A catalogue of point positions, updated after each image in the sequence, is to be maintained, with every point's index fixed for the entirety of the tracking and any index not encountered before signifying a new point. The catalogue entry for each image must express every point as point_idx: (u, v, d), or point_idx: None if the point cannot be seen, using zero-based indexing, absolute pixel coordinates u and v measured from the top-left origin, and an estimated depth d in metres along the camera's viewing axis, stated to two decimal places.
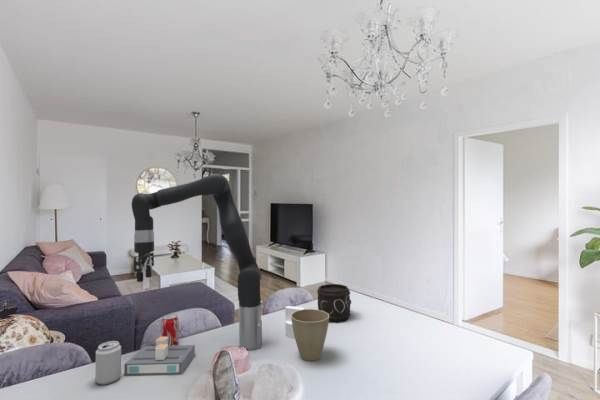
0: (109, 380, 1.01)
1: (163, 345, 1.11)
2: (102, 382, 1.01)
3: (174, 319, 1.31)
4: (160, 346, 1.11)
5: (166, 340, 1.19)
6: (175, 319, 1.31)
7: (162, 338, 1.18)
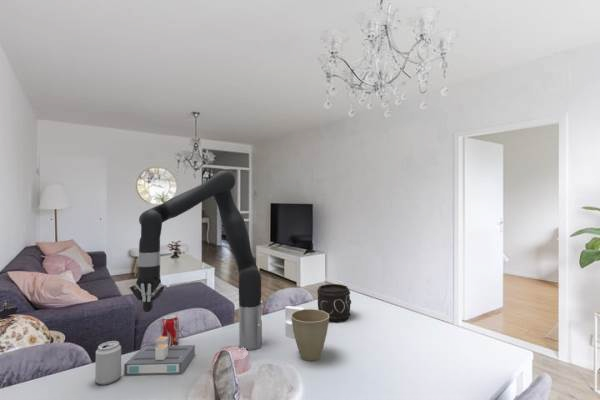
0: (109, 380, 1.01)
1: (163, 345, 1.11)
2: (102, 382, 1.01)
3: (174, 319, 1.31)
4: (160, 346, 1.11)
5: (166, 340, 1.19)
6: (175, 319, 1.31)
7: (162, 338, 1.18)
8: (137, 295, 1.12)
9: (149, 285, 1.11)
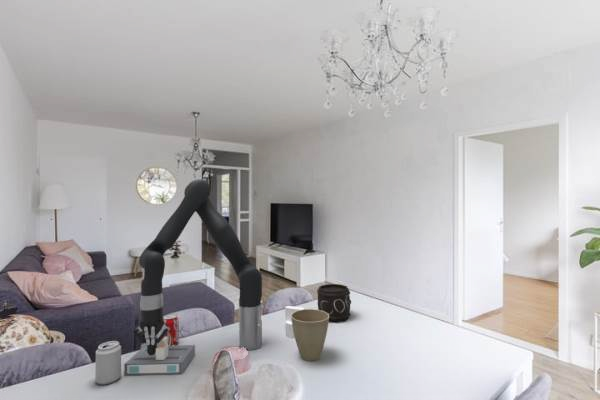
0: (109, 380, 1.01)
1: (163, 345, 1.11)
2: (102, 382, 1.01)
3: (174, 319, 1.31)
4: (160, 346, 1.11)
5: (166, 340, 1.19)
6: (175, 319, 1.31)
7: None
8: (141, 338, 1.10)
9: (153, 328, 1.09)
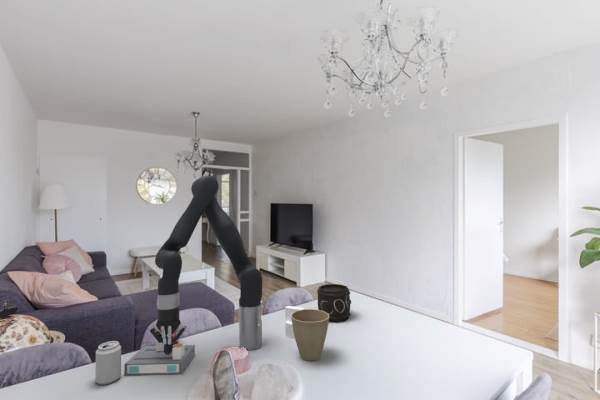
0: (109, 380, 1.01)
1: (180, 345, 1.11)
2: (102, 382, 1.01)
3: None
4: (177, 346, 1.11)
5: None
6: None
7: None
8: (157, 338, 1.10)
9: (169, 327, 1.09)
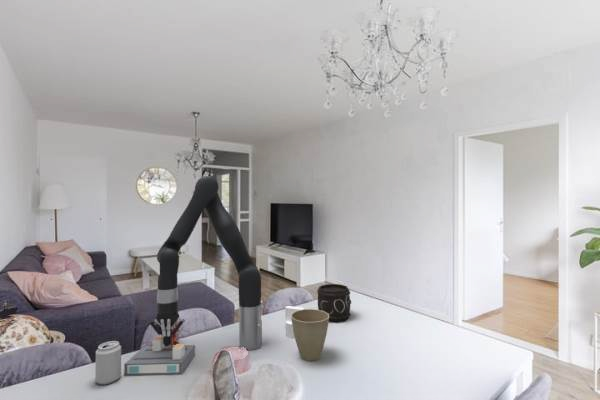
0: (109, 380, 1.01)
1: (180, 345, 1.11)
2: (102, 382, 1.01)
3: None
4: (177, 346, 1.11)
5: None
6: None
7: (159, 338, 1.18)
8: (157, 330, 1.17)
9: (168, 320, 1.16)
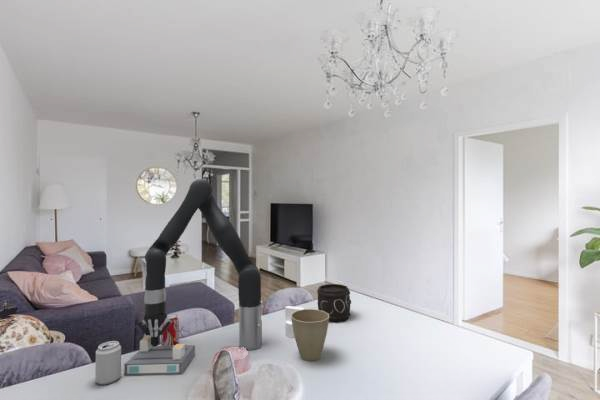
0: (109, 380, 1.01)
1: (180, 345, 1.11)
2: (102, 382, 1.01)
3: (174, 319, 1.31)
4: (177, 346, 1.11)
5: (150, 341, 1.18)
6: (175, 319, 1.31)
7: (146, 338, 1.17)
8: (145, 331, 1.17)
9: (156, 321, 1.16)
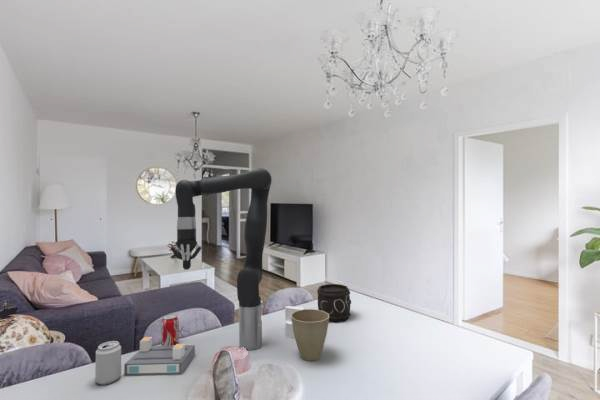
0: (109, 380, 1.01)
1: (180, 345, 1.11)
2: (102, 382, 1.01)
3: (174, 319, 1.31)
4: (177, 346, 1.11)
5: (150, 341, 1.18)
6: (175, 319, 1.31)
7: (146, 338, 1.17)
8: (177, 255, 1.27)
9: (188, 245, 1.26)
